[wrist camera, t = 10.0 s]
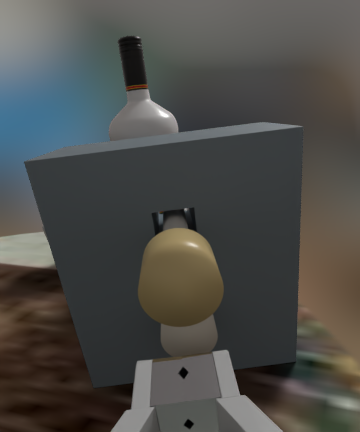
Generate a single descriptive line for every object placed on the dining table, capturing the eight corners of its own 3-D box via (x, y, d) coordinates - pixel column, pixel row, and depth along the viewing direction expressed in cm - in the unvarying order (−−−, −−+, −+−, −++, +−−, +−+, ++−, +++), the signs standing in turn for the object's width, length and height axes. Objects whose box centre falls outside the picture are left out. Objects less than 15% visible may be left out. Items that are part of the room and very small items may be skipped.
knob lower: (219, 356, 21) (215, 311, 19) (164, 363, 21) (156, 318, 19) (198, 263, 33) (195, 231, 32) (164, 267, 33) (159, 236, 32)
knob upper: (226, 321, 14) (220, 248, 13) (145, 331, 14) (130, 259, 13) (197, 221, 27) (192, 179, 25) (154, 227, 27) (148, 185, 25)
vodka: (124, 271, 43) (76, 47, 33) (176, 251, 48) (148, 47, 37) (151, 301, 36) (100, 22, 25) (210, 273, 40) (187, 25, 30)
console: (295, 361, 25) (303, 126, 18) (93, 388, 25) (23, 161, 18) (265, 304, 33) (263, 122, 26) (109, 324, 33) (65, 147, 26)
